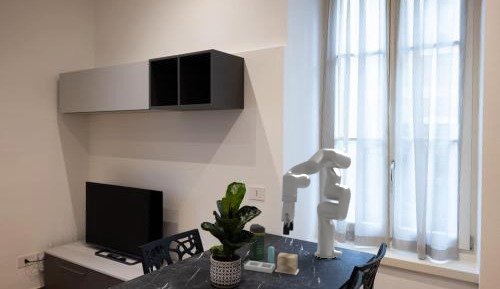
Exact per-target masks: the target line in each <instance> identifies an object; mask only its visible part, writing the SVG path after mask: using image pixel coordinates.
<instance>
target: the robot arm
mask: <svg viewBox="0 0 500 289" xmlns="http://www.w3.org/2000/svg"><path fill="white" fill-rule="evenodd" d="M351 164H352V158H351V156H350V155H349V154H348V153H345V152H343V151H341V150H339V149H336V148H335V149H334V148H320V149H318V150H317V151H316V152H315V153H314V154H313V155H312V156H311V157H310V158H309V159H308V160H306V161H303V162H300V163H298V164H296V165H294V166H292V167H291V168H289V170H288V171H286V173H285V174H283V175H282V187H281V188H282V190H281V192H282V193H281V202H282V206H281V207H282V208H281V222H283V225H282V235H283V236H290V231H291V232H293V231H294V220H295V214H296V210H295V209H296V203H297V202H298V189H307V188H308V187H309V186H310V185H311V177H310V175H311V176H312V175H316V174H318V173H319V172H320V171H321V170H322V169H323V168H325V172H326V179H325V183H324V188H323V192H322V194H323V197H324V199H326V201H320V202H319V203H318V204H317V207H316V214H317V250H316V251H315V252H314V257H316V256H317V257H316V258H318V257H320V258H319V259H321V258H334V257H336V256H341V257H342V255H343V252H342V251H341V250H336V247H335V232H336V231H335V230H336V226H335V223H334V221H333V220H335V221H338V222H343V221H345V220H346V218H347V216H348V212H349V207H350V202H351V198H352V197H351V196H352V193H351V192H352V191H351V189H350V187H349V186H347V185H346V184H345V185H344V184H341V182H342V174H341V172H340V171H339V169H342V170H347V169H349V167H350V166H351ZM327 200H328V201H327ZM331 201H336V202H331ZM335 255H336V256H335ZM336 258H337V257H336Z"/></svg>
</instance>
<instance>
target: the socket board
mask: <svg viewBox="0 0 500 289" xmlns="http://www.w3.org/2000/svg"><path fill="white" fill-rule="evenodd" d="M243 270H244V271H248V270H249V271H255V272H261V273H266V274H267V273H268V274H273V271H275V270H276V263H274V264H271V263H268V262H262V261H257V260H248V261H247V262H246V264H244V268H243Z"/></svg>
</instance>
